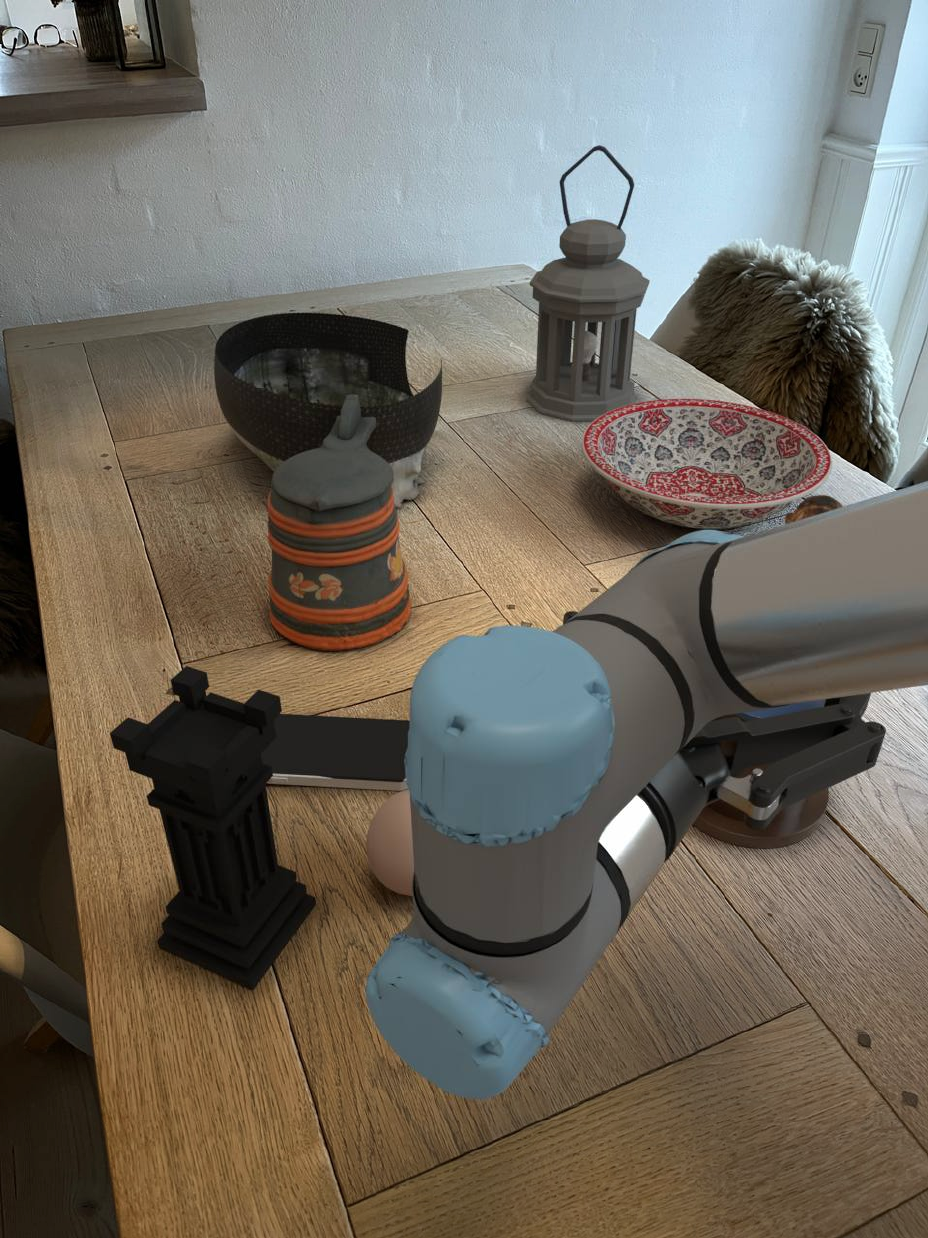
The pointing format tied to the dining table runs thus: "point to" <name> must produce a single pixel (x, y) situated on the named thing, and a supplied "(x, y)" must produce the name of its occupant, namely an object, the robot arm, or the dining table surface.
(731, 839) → the pedestal
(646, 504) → the ceramic bowl
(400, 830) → the egg
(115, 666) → the dining table surface
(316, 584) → the tankard
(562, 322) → the lantern
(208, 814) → the chess piece
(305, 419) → the basket
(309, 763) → the smartphone
